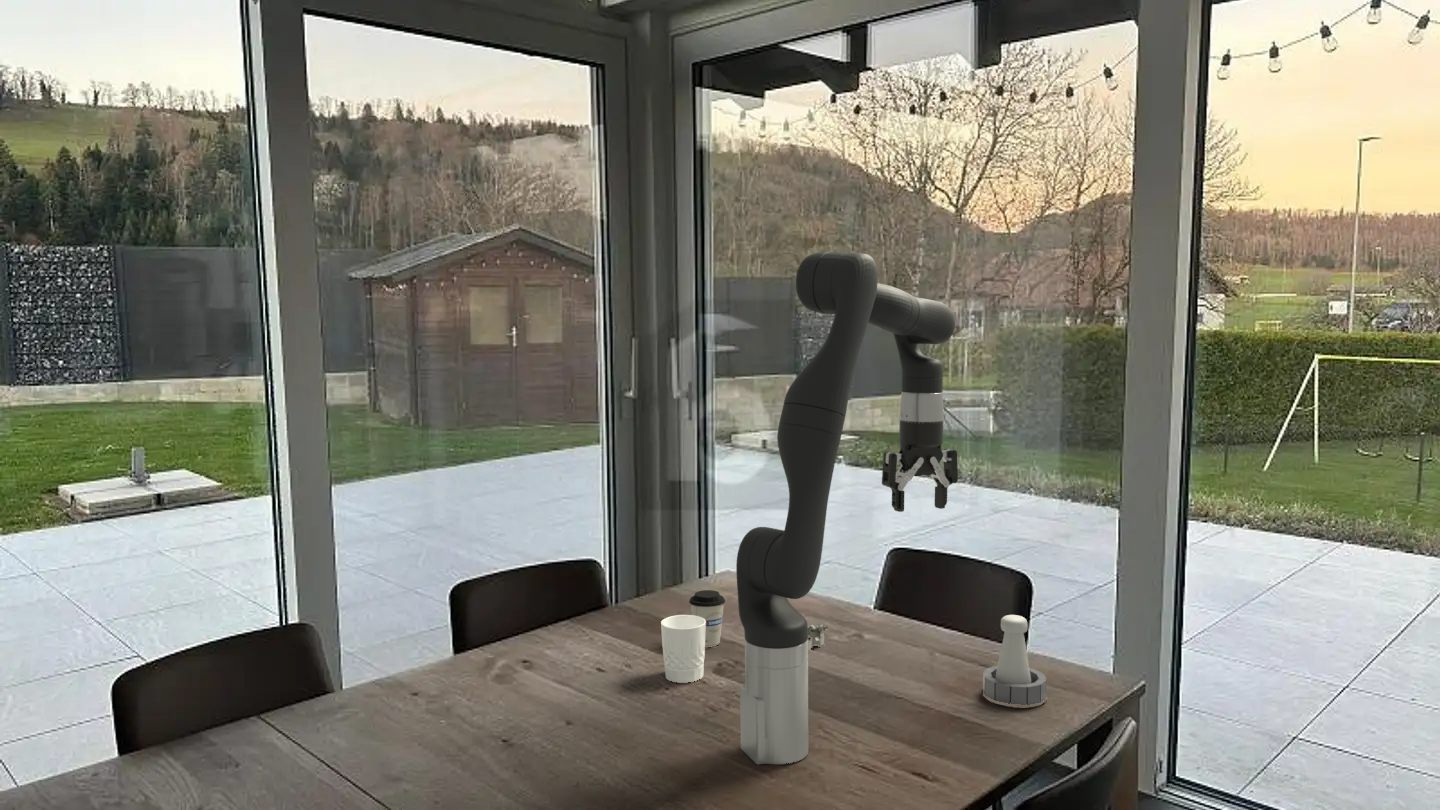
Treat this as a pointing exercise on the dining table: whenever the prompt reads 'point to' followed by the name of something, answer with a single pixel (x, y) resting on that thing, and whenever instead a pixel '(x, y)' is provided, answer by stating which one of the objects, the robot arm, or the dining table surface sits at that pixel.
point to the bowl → (1015, 688)
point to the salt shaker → (1013, 652)
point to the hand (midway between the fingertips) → (919, 509)
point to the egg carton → (816, 635)
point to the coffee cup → (709, 613)
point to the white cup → (683, 647)
